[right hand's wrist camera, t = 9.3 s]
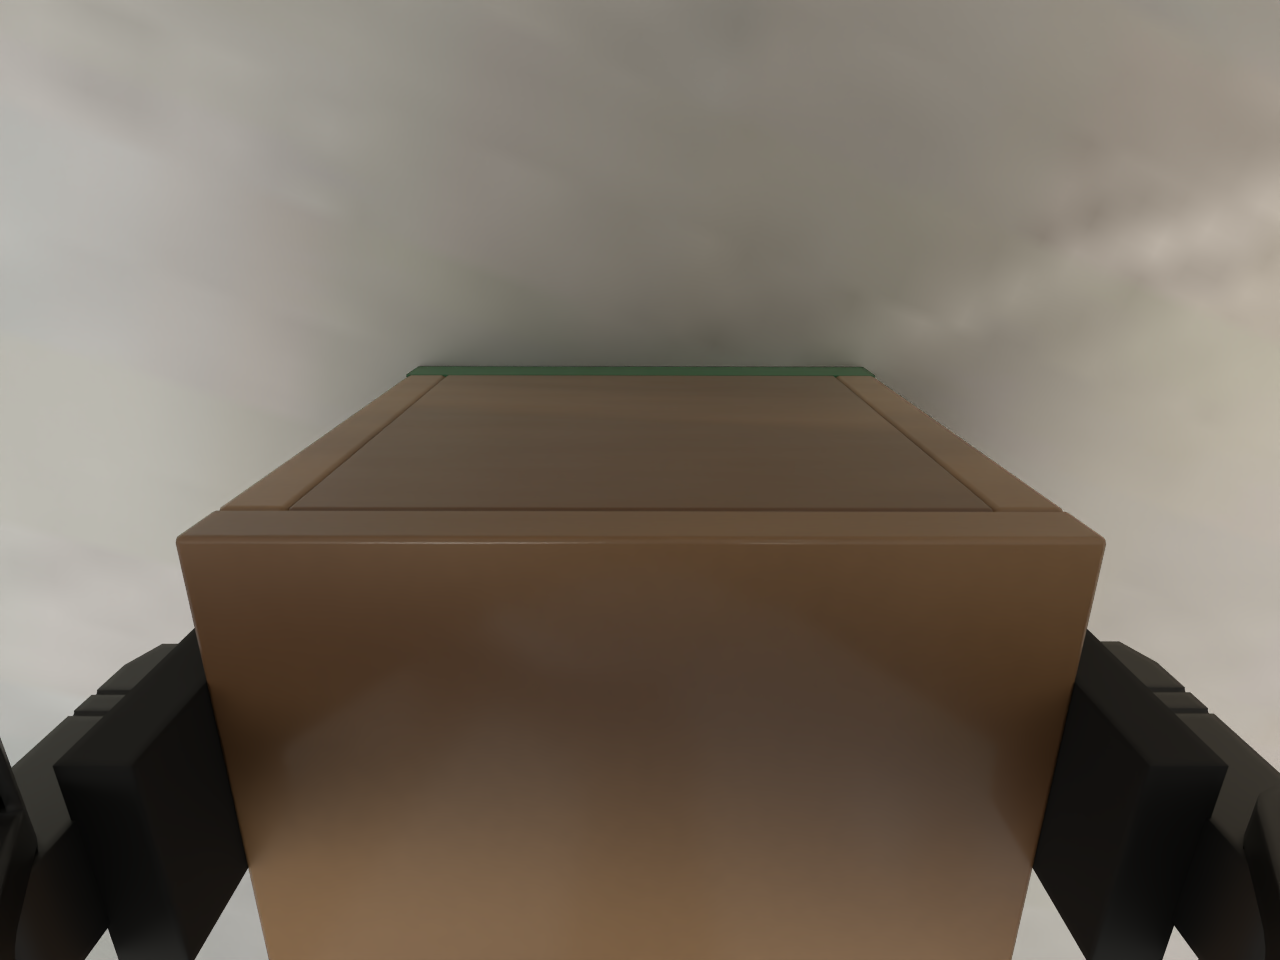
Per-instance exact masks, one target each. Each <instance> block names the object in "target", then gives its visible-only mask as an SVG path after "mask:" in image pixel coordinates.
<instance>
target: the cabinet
mask: <svg viewBox="0 0 1280 960" xmlns="http://www.w3.org/2000/svg"><path fill="white" fill-rule="evenodd" d="M406 376H407V378H405V379H404V380H402V381H401V382H400V383H398V384H397V385H395V386H394V387H392V388H391V389H390V390H388V391H387V392H385V393H384V394H382V395H381V396H380V397H378V398H377V399H375V400H374V401H372V402H371V403H370V404H368V405H367V406H365V407H364V408H362V409H361V410H360V411H358V412H357V413H355V414H354V415H352V416H351V417H350V418H348V419H347V420H345V421H344V422H342V423H341V424H340V425H338V426H337V427H335V428H334V429H332V430H331V431H330V432H328V433H327V434H325V435H324V436H322V437H321V438H320V439H318V440H317V441H315V442H314V443H312V444H311V445H310V446H308V447H307V448H305V449H304V450H302V451H301V452H300V453H298V454H297V455H295V456H294V457H292V458H291V459H290V460H288V461H287V462H285V463H284V464H282V465H281V466H280V467H278V468H277V469H275V470H274V471H272V472H271V473H270V474H268V475H267V476H265V477H264V478H262V479H261V480H260V481H258V482H257V483H255V484H254V485H252V486H251V487H250V488H248V489H247V490H245V491H244V492H242V493H241V494H240V495H238V496H237V497H235V498H234V499H232V500H231V501H230V502H228V503H227V504H225V505H224V506H222V507H221V509H220V511H215V512H212V513H211V514H209V515H208V516H206V517H205V518H204V519H202V520H201V521H199V522H198V523H196V524H195V525H194V526H192V527H191V528H189V529H188V530H186V531H185V532H183V533H182V534H181V535H179V536H178V537H177V539H176V546H177V551H178V555H179V560H180V564H181V568H182V573H183V577H184V582H185V586H186V591H187V595H188V600H189V604H190V609H191V613H192V618H193V622H194V627H195V631H196V636H197V640H198V644H199V649H200V653H201V658H202V662H203V667H204V671H205V676H206V680H207V685H208V689H209V694H210V698H211V703H212V707H213V712H214V716H215V721H216V725H217V729H218V734H219V738H220V743H221V747H222V752H223V756H224V761H225V765H226V770H227V774H228V779H229V783H230V788H231V792H232V797H233V801H234V805H235V810H236V814H237V819H238V823H239V828H240V832H241V837H242V841H243V846H244V850H245V855H246V859H247V864H248V868H249V873H250V877H251V881H252V886H253V890H254V895H255V899H256V904H257V908H258V913H259V917H260V922H261V926H262V931H263V935H264V940H265V944H266V949H267V953H268V958H269V960H1011V959H1012V955H1013V950H1014V946H1015V942H1016V937H1017V933H1018V928H1019V924H1020V920H1021V915H1022V911H1023V907H1024V902H1025V898H1026V893H1027V889H1028V885H1029V880H1030V876H1031V871H1032V867H1033V863H1034V858H1035V854H1036V849H1037V845H1038V841H1039V836H1040V832H1041V827H1042V823H1043V819H1044V814H1045V810H1046V806H1047V801H1048V797H1049V792H1050V788H1051V784H1052V779H1053V775H1054V770H1055V766H1056V762H1057V757H1058V753H1059V748H1060V744H1061V740H1062V735H1063V731H1064V726H1065V722H1066V718H1067V713H1068V709H1069V705H1070V700H1071V696H1072V691H1073V687H1074V683H1075V678H1076V674H1077V669H1078V665H1079V661H1080V656H1081V652H1082V647H1083V643H1084V639H1085V634H1086V630H1087V625H1088V621H1089V617H1090V612H1091V608H1092V604H1093V599H1094V595H1095V590H1096V586H1097V582H1098V577H1099V573H1100V568H1101V564H1102V560H1103V555H1104V551H1105V546H1106V542H1105V539H1104V538H1103V537H1102V536H1101V535H1099V534H1098V533H1096V532H1095V531H1093V530H1092V529H1091V528H1089V527H1088V526H1086V525H1085V524H1083V523H1082V522H1081V521H1079V520H1078V519H1076V518H1075V517H1073V516H1072V515H1071V514H1069V513H1066V512H1063V511H1062V509H1061V508H1060V507H1058V506H1057V505H1055V504H1054V503H1052V502H1051V501H1050V500H1048V499H1047V498H1045V497H1044V496H1042V495H1041V494H1040V493H1038V492H1037V491H1035V490H1034V489H1032V488H1031V487H1030V486H1028V485H1027V484H1025V483H1024V482H1022V481H1021V480H1020V479H1018V478H1017V477H1015V476H1014V475H1012V474H1011V473H1010V472H1008V471H1007V470H1005V469H1004V468H1002V467H1001V466H1000V465H998V464H997V463H995V462H994V461H993V460H991V459H990V458H988V457H987V456H985V455H984V454H983V453H981V452H980V451H978V450H977V449H975V448H974V447H973V446H971V445H970V444H968V443H967V442H965V441H964V440H963V439H961V438H960V437H958V436H957V435H955V434H954V433H953V432H951V431H950V430H948V429H947V428H945V427H944V426H943V425H941V424H940V423H938V422H937V421H935V420H934V419H933V418H931V417H930V416H928V415H927V414H925V413H924V412H923V411H921V410H920V409H918V408H917V407H915V406H914V405H913V404H911V403H910V402H908V401H907V400H905V399H904V398H903V397H901V396H900V395H898V394H897V393H895V392H894V391H893V390H891V389H890V388H888V387H887V386H885V385H884V384H883V383H881V382H880V381H878V380H877V379H875V375H873V374H872V373H871V372H869V371H868V370H866V369H865V368H863V367H484V366H419V367H417V368H416V369H414V370H413V371H411V372H410V373H408V374H407V375H406Z"/></svg>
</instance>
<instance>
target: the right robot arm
mask: <svg viewBox="0 0 1280 960" xmlns="http://www.w3.org/2000/svg"><path fill="white" fill-rule="evenodd" d="M1032 868H1033V869H1034V871H1035V873H1036V874H1037V876H1038V878H1039V880H1040V881H1041V883H1042V885H1043V886H1044V888H1045V890H1046V892H1047V893H1048V895H1049V897H1050V898H1051V900H1052V902H1053V904H1054V905H1055V907H1056V909H1057V910H1058V912H1059V914H1060V916H1061V917H1062V919H1063V921H1064V922H1065V924H1066V926H1067V927H1068V929H1069V931H1070V933H1071V934H1072V936H1073V938H1074V939H1075V941H1076V943H1077V945H1078V946H1079V948H1080V950H1081V951H1082V953H1083V955H1084V957H1085V958H1086V960H1162V959H1163V956H1164V953H1165V950H1166V947H1167V944H1168V942H1169V939H1170V936H1171V933H1172V930H1173V927H1174V926H1175V927H1176V928H1177V930H1178V931H1179V933H1180V934H1181V935H1182V937H1183V938H1184V939H1185V941H1186V942H1187V943H1188V945H1189V946H1190V948H1191V949H1192V950H1193V952H1194V953H1195V954H1196V956H1197V957H1198V958H1199V959H1198V960H1280V773H1279V772H1278V771H1277V770H1276V769H1275V768H1274V767H1272V766H1271V765H1270V764H1269V763H1268V762H1267V761H1266V760H1265V759H1264V758H1262V757H1261V756H1260V755H1259V754H1258V753H1257V752H1256V751H1255V750H1254V749H1252V748H1251V747H1250V746H1249V745H1248V744H1247V743H1246V742H1245V741H1244V740H1242V739H1241V738H1240V737H1239V736H1238V735H1237V734H1236V733H1235V732H1234V731H1232V730H1231V729H1230V728H1229V727H1228V726H1227V725H1226V724H1225V723H1224V722H1222V721H1221V720H1220V719H1219V718H1218V717H1217V716H1216V715H1215V714H1209V713H1208V708H1207V707H1206V706H1205V705H1204V704H1203V703H1201V702H1200V701H1199V700H1198V699H1197V698H1196V697H1195V696H1194V695H1193V694H1191V693H1190V692H1185V687H1184V686H1183V685H1181V684H1180V683H1179V682H1178V681H1177V680H1176V679H1175V678H1174V677H1173V676H1171V675H1170V674H1169V673H1168V672H1167V671H1166V670H1165V669H1164V668H1163V667H1161V666H1160V665H1159V664H1158V663H1157V662H1155V661H1153V660H1151V659H1150V658H1148V657H1146V656H1144V655H1142V654H1141V653H1139V652H1137V651H1135V650H1133V649H1132V648H1130V647H1128V646H1126V645H1124V644H1123V643H1121V642H1100V641H1099V640H1098V639H1097V638H1096V637H1095V636H1094V635H1093V634H1092V633H1091V632H1090V631H1089V630H1088V629H1087V630H1086V634H1085V639H1084V643H1083V647H1082V652H1081V656H1080V661H1079V665H1078V669H1077V674H1076V678H1075V683H1074V687H1073V691H1072V696H1071V700H1070V705H1069V709H1068V713H1067V718H1066V722H1065V726H1064V731H1063V735H1062V740H1061V744H1060V748H1059V753H1058V757H1057V762H1056V766H1055V770H1054V775H1053V779H1052V784H1051V788H1050V792H1049V797H1048V801H1047V806H1046V810H1045V814H1044V819H1043V823H1042V827H1041V832H1040V836H1039V841H1038V845H1037V849H1036V854H1035V858H1034V863H1033V867H1032ZM247 869H248V864H247V859H246V855H245V850H244V846H243V841H242V837H241V832H240V828H239V823H238V819H237V814H236V810H235V805H234V801H233V797H232V792H231V788H230V783H229V779H228V774H227V770H226V765H225V761H224V756H223V752H222V747H221V743H220V738H219V734H218V729H217V725H216V721H215V716H214V712H213V707H212V703H211V698H210V694H209V689H208V685H207V680H206V676H205V671H204V667H203V662H202V658H201V653H200V649H199V644H198V640H197V636H196V631H195V628H194V629H193V630H192V631H191V632H190V633H189V634H188V635H187V636H186V637H185V638H184V639H183V640H182V641H181V642H180V643H179V644H161V645H160V646H158V647H156V648H154V649H152V650H151V651H149V652H147V653H145V654H144V655H142V656H140V657H138V658H136V659H135V660H133V661H131V662H129V663H127V664H126V665H124V666H123V667H122V668H121V669H120V670H119V671H118V672H116V673H115V674H114V675H113V676H112V677H111V678H110V679H109V680H108V681H106V682H105V683H104V684H103V685H102V686H101V687H100V688H99V689H98V690H97V694H96V695H91V696H90V697H89V698H88V699H87V700H86V701H84V702H83V703H82V704H81V705H80V706H79V707H78V708H77V709H76V710H75V711H74V715H73V716H68V717H67V718H66V719H65V720H64V721H62V722H61V723H60V724H59V725H58V726H57V727H56V728H55V729H54V730H53V731H51V732H50V733H49V734H48V735H47V736H46V737H45V738H44V739H43V740H41V741H40V742H39V743H38V744H37V745H36V746H35V747H34V748H33V749H32V750H30V751H29V752H28V753H27V754H26V755H25V756H24V757H23V758H22V759H21V760H19V761H18V762H17V763H16V764H15V765H14V766H13V767H12V768H11V766H10V763H9V760H8V757H7V755H6V752H5V749H4V746H3V744H2V741H1V738H0V960H85V958H86V957H87V956H88V954H89V953H90V952H91V950H92V949H93V947H94V946H95V945H96V943H97V942H98V941H99V939H100V938H101V936H102V935H103V934H104V932H105V931H106V930H107V928H108V930H109V933H110V936H111V939H112V942H113V944H114V947H115V950H116V953H117V956H118V959H119V960H195V958H196V956H197V955H198V953H199V951H200V949H201V948H202V946H203V944H204V943H205V941H206V939H207V937H208V936H209V934H210V932H211V931H212V929H213V927H214V925H215V924H216V922H217V920H218V919H219V917H220V915H221V913H222V912H223V910H224V908H225V907H226V905H227V903H228V901H229V900H230V898H231V896H232V895H233V893H234V891H235V889H236V888H237V886H238V884H239V883H240V881H241V879H242V878H243V876H244V874H245V872H246V871H247Z"/></svg>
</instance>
